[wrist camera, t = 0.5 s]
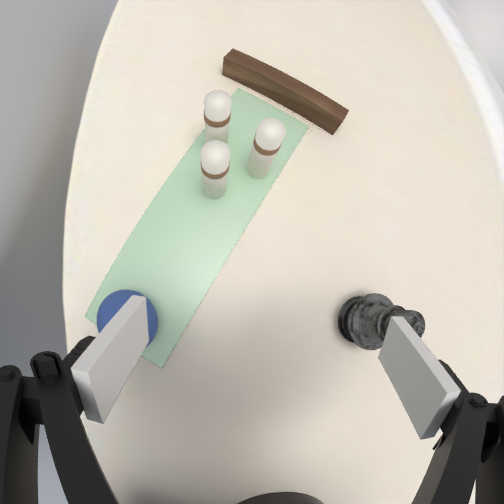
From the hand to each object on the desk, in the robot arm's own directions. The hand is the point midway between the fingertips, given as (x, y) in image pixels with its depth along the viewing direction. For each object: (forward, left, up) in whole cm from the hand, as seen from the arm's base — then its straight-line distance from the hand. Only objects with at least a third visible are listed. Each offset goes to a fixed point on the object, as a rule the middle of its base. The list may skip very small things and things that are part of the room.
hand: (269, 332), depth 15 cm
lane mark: (+7, +9, -16) cm, 20 cm away
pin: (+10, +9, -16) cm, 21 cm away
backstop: (+25, +9, -16) cm, 31 cm away
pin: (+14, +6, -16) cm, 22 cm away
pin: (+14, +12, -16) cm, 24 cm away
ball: (-6, +9, -13) cm, 17 cm away
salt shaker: (+6, -12, -16) cm, 21 cm away
